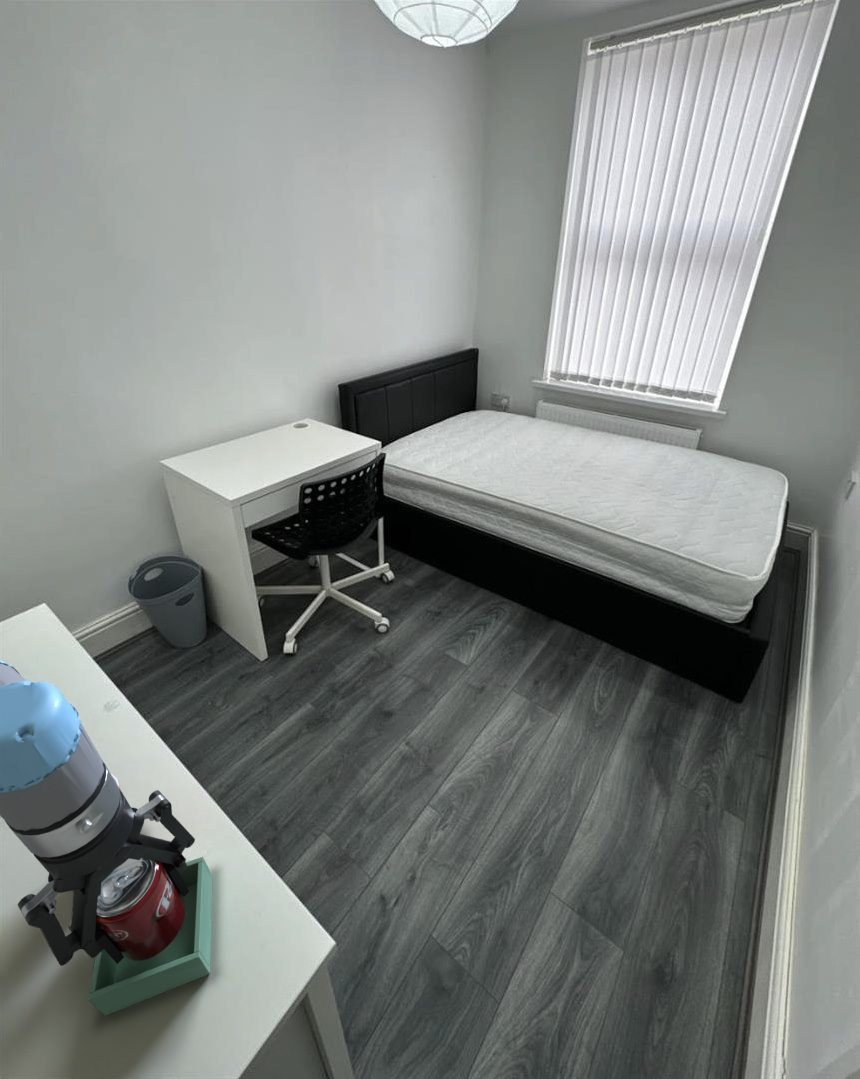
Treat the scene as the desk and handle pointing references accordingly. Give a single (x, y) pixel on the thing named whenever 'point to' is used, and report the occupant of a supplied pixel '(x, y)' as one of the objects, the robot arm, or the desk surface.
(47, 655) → the desk surface
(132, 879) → the soda can
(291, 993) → the desk surface
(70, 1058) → the desk surface
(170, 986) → the teal square tray
